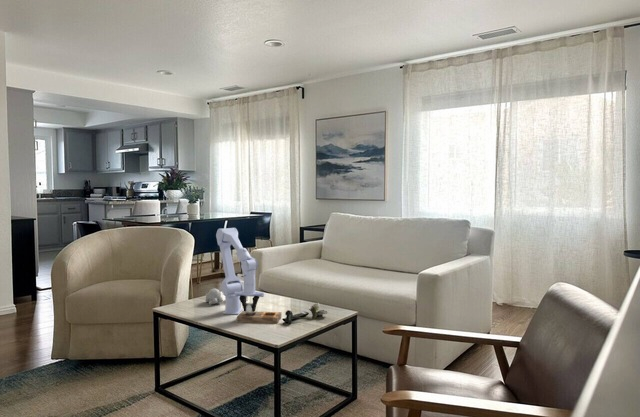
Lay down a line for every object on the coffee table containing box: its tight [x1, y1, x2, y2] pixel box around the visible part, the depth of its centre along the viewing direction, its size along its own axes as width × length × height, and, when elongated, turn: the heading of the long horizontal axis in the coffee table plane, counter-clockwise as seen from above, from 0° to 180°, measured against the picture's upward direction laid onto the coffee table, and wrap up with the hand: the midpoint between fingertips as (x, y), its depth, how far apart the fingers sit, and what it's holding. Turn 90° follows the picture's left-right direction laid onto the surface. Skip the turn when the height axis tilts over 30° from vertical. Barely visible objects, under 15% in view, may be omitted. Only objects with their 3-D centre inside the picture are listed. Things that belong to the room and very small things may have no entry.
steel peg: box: [245, 302, 255, 316], centre depth 223 cm, size 4×4×7 cm
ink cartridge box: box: [231, 273, 249, 302], centre depth 261 cm, size 9×5×15 cm, turn 58°
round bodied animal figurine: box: [204, 287, 224, 306], centre depth 253 cm, size 7×12×8 cm, turn 47°
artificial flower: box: [284, 302, 328, 325], centre depth 224 cm, size 9×22×10 cm, turn 121°
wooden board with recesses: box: [236, 310, 282, 324], centre depth 223 cm, size 10×20×3 cm, turn 84°
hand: (249, 310), depth 223 cm, fingers closed on steel peg, 4 cm apart
